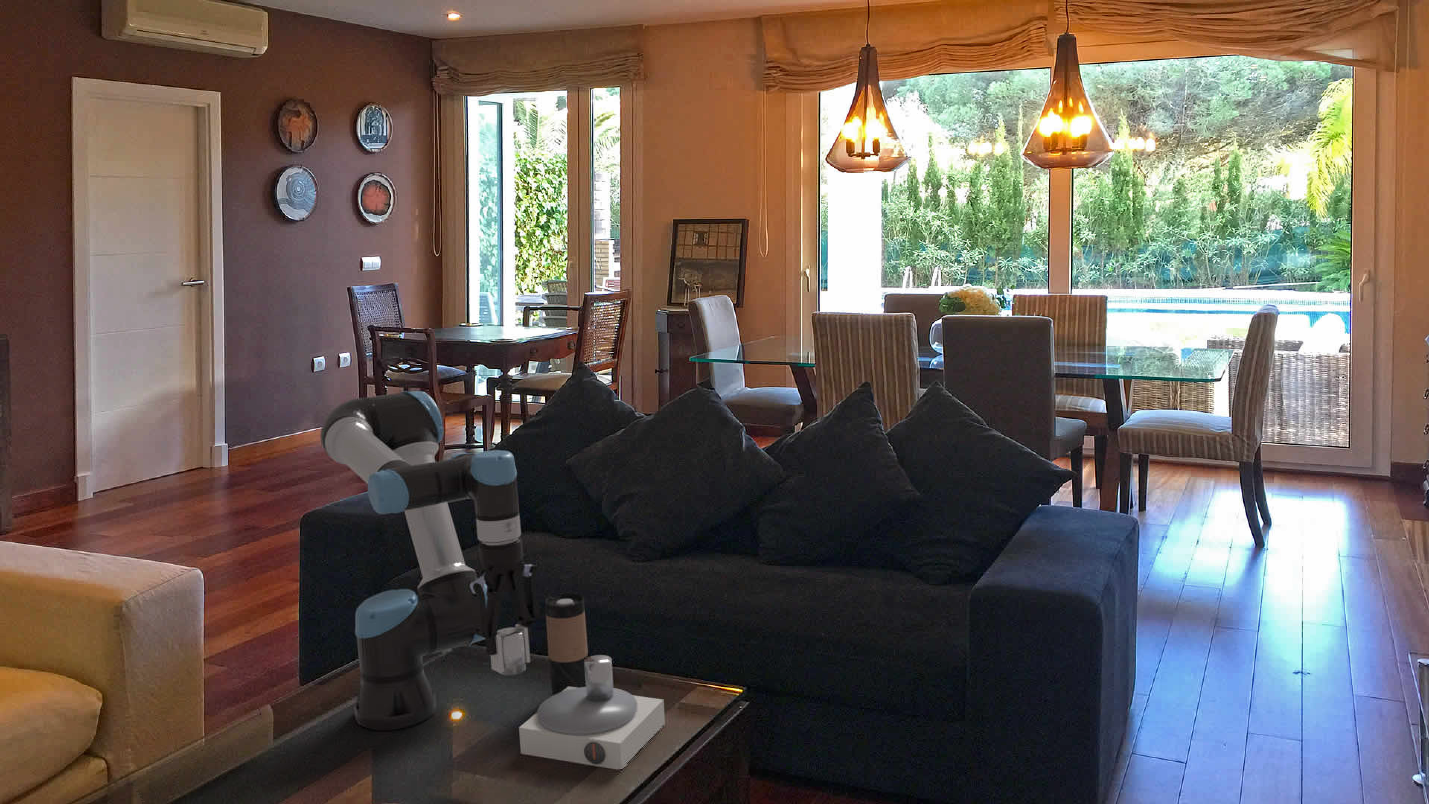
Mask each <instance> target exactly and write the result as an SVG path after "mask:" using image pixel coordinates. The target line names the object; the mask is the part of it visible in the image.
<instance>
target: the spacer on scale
mask: <svg viewBox="0 0 1429 804" xmlns="http://www.w3.org/2000/svg"><path fill="white" fill-rule="evenodd" d="M612 661H613V659H612V658H611V656H609V655H603V654H596V655H591V656H588V658H586V659H585V661H584V665H585V680H586V695H587V699H588V700H590V701H593V702H603V701H607V700H610V699H611V698H613V696H614V691H613V688H614V677H613V663H612Z"/></svg>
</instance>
